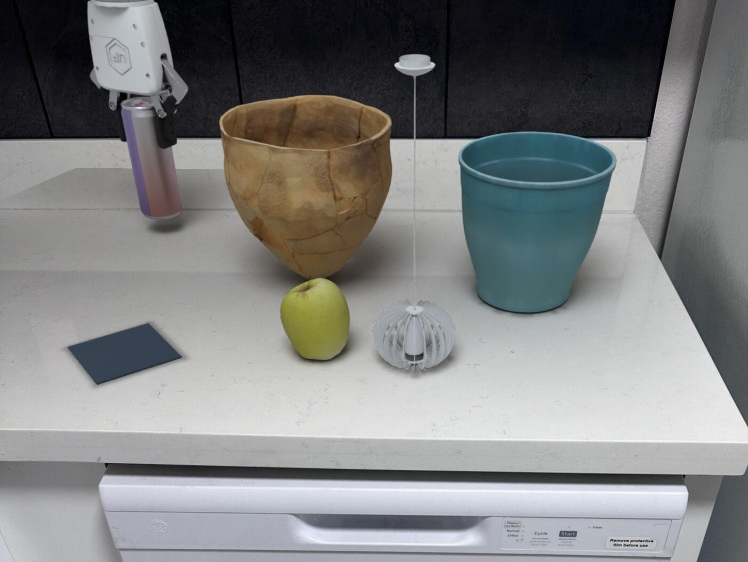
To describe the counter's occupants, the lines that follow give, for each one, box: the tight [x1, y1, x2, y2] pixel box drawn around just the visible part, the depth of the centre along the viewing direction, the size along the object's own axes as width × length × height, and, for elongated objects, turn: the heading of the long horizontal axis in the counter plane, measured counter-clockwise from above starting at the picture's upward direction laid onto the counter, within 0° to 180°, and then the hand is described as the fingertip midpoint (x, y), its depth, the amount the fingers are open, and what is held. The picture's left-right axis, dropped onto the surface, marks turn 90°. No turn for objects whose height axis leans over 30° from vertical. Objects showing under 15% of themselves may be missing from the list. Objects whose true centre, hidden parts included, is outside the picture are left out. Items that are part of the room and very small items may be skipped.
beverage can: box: [121, 96, 183, 221], centre depth 113 cm, size 6×6×15 cm
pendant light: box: [372, 53, 457, 371], centre depth 80 cm, size 9×9×30 cm
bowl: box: [218, 94, 393, 281], centre depth 99 cm, size 21×20×20 cm
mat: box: [67, 322, 183, 385], centre depth 92 cm, size 10×10×1 cm
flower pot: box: [457, 131, 618, 313], centre depth 96 cm, size 18×18×17 cm
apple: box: [279, 276, 351, 361], centre depth 88 cm, size 8×8×10 cm
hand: (149, 141), depth 111 cm, fingers closed on beverage can, 6 cm apart
